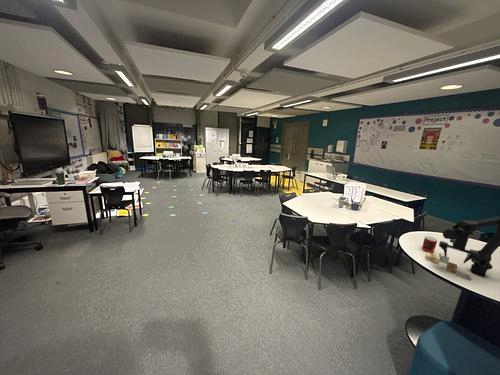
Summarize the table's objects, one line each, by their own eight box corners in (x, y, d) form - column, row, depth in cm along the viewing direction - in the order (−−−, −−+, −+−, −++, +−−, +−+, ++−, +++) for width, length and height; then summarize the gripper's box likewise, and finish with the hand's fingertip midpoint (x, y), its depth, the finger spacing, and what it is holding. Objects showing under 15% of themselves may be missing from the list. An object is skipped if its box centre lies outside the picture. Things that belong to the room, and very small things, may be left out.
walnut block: (454, 270, 141) (456, 264, 139) (455, 273, 137) (457, 267, 136) (445, 267, 144) (447, 261, 142) (446, 270, 140) (448, 264, 139)
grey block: (445, 260, 153) (447, 254, 151) (447, 263, 149) (449, 257, 147) (437, 258, 155) (439, 252, 153) (439, 261, 151) (441, 255, 149)
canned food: (430, 248, 168) (434, 237, 165) (435, 254, 161) (439, 241, 158) (419, 247, 170) (423, 235, 167) (424, 252, 163) (428, 239, 160)
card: (469, 275, 136) (469, 274, 136) (470, 280, 131) (471, 279, 131) (455, 270, 141) (455, 270, 140) (455, 275, 136) (456, 274, 135)
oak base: (437, 260, 152) (439, 255, 151) (438, 264, 147) (439, 259, 146) (425, 256, 157) (427, 252, 156) (425, 260, 152) (427, 255, 151)
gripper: (480, 240, 134) (472, 261, 138) (442, 231, 146) (436, 250, 150) (482, 246, 126) (474, 268, 130) (442, 236, 138) (436, 256, 142)
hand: (454, 260), depth 138 cm, fingers open, 9 cm apart
